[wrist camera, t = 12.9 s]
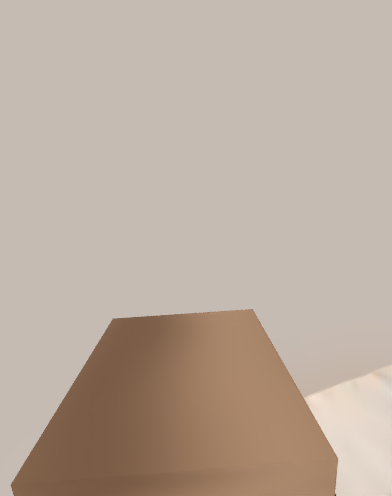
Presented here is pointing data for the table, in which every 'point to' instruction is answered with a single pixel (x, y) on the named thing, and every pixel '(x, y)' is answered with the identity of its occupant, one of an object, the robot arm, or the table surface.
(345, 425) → the table surface
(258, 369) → the walnut block
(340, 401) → the table surface
